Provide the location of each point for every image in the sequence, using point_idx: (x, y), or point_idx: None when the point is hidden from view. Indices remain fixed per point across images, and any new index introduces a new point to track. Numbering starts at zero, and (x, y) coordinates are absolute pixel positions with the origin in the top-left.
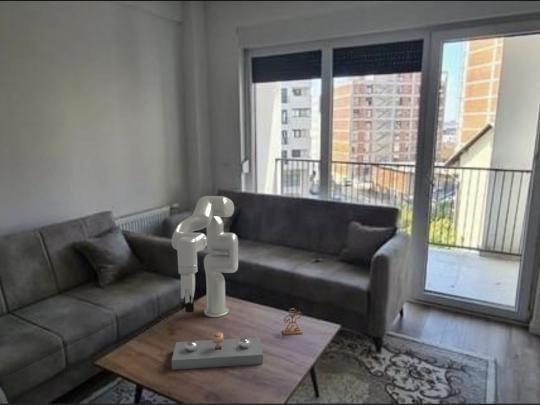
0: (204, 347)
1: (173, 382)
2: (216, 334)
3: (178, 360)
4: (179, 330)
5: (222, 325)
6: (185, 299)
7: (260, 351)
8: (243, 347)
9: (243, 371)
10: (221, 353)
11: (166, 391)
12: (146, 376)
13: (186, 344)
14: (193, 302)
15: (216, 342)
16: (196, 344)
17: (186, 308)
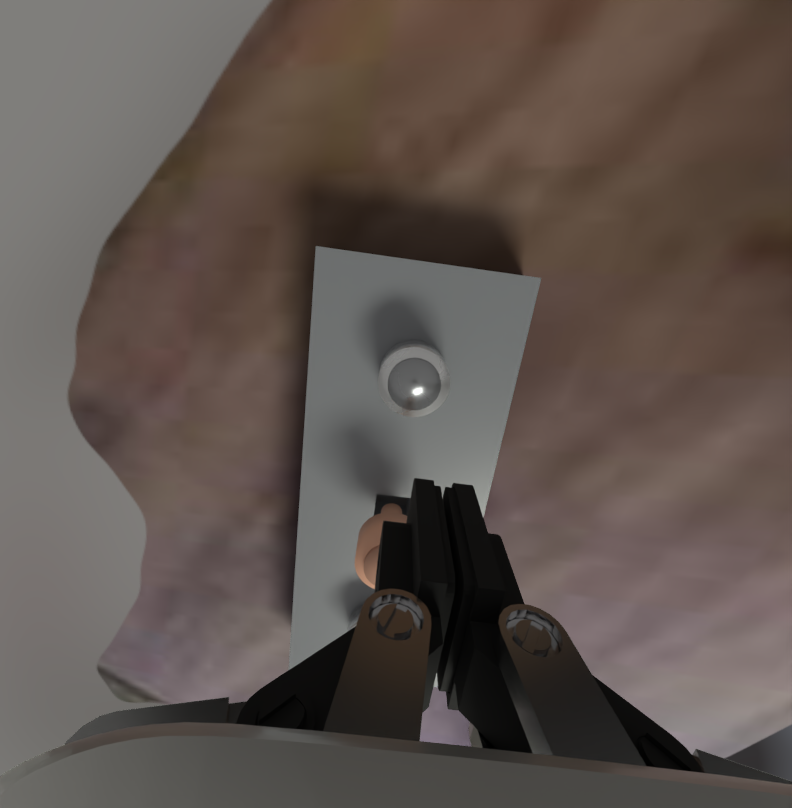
0: (417, 445)
1: (206, 256)
2: None
3: (313, 290)
4: (773, 297)
5: (702, 534)
6: (336, 699)
7: None
8: (349, 620)
9: (256, 562)
10: (333, 520)
11: (131, 218)
12: (282, 84)
13: (409, 353)
14: (446, 690)
15: (360, 532)
16: (409, 413)
17: (413, 522)
